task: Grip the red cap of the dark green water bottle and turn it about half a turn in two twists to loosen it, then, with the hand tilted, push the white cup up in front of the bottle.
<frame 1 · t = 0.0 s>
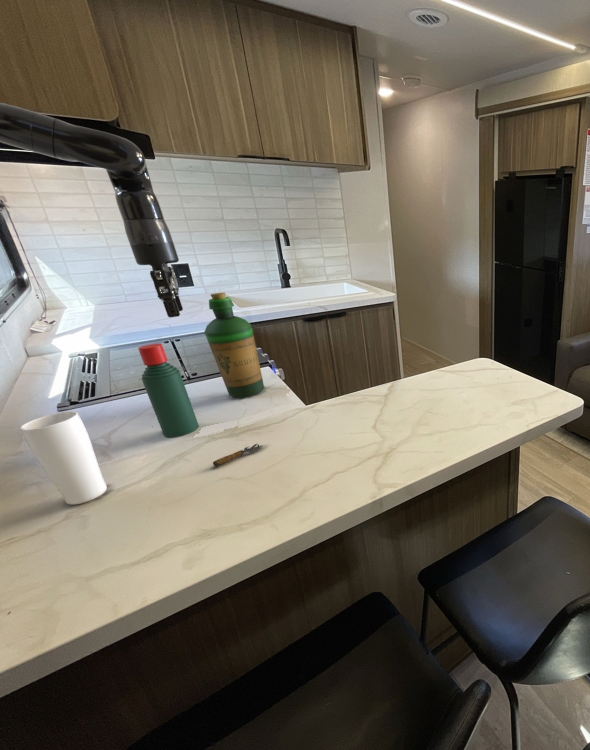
hand: (176, 313, 94), 25 cm above the countertop, tool pointing down, fingers open, 8 cm apart
white cup: (88, 497, 71), on the countertop
cap: (150, 347, 86), point 20 cm above the countertop, screwed on, not yet turned
bottle 2: (247, 393, 114), on the countertop
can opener: (239, 457, 80), on the countertop
bottle: (181, 430, 93), on the countertop
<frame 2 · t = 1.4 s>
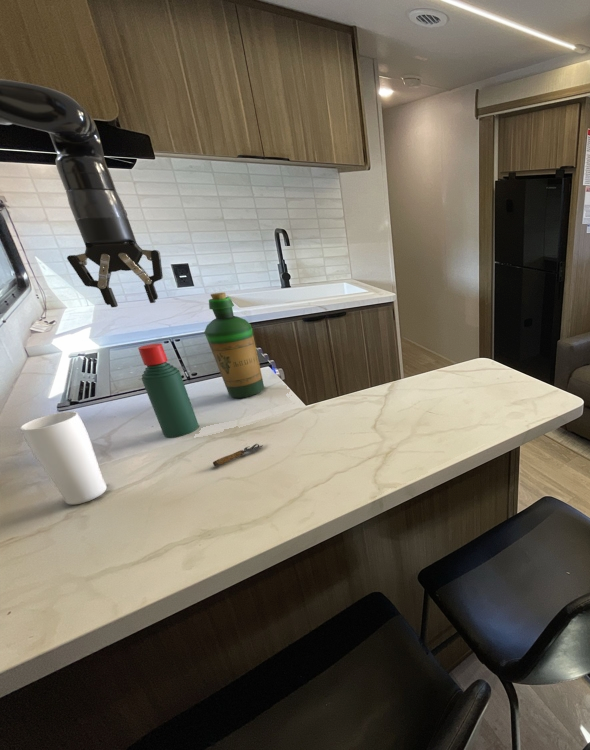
hand: (134, 304, 83), 29 cm above the countertop, tool pointing down, fingers open, 5 cm apart
nothing on the countertop moved.
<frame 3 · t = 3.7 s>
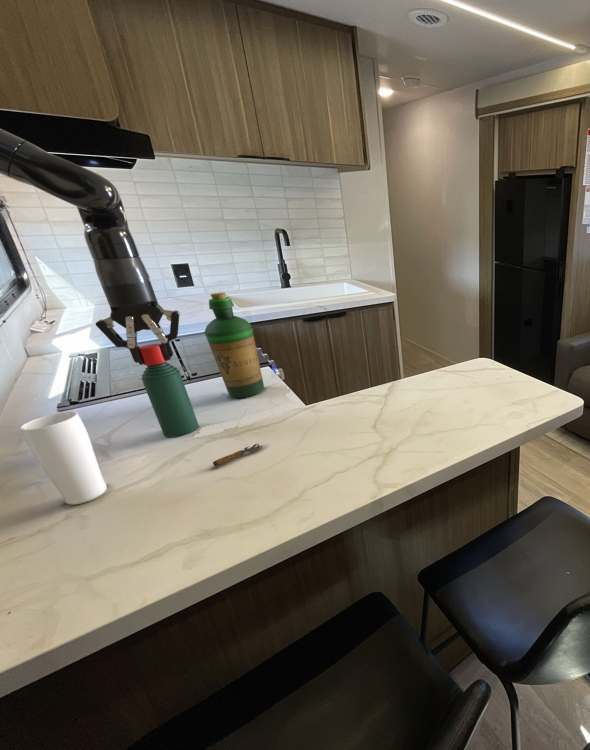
hand: (155, 361, 87), 17 cm above the countertop, tool pointing down, fingers closed on cap, 4 cm apart
cap: (150, 347, 86), point 20 cm above the countertop, screwed on, not yet turned, touching gripper
everything else where it was.
when the fingers open (16 cm above the countertop, at t = 6.1 s): cap stays where it is, point 20 cm above the countertop.
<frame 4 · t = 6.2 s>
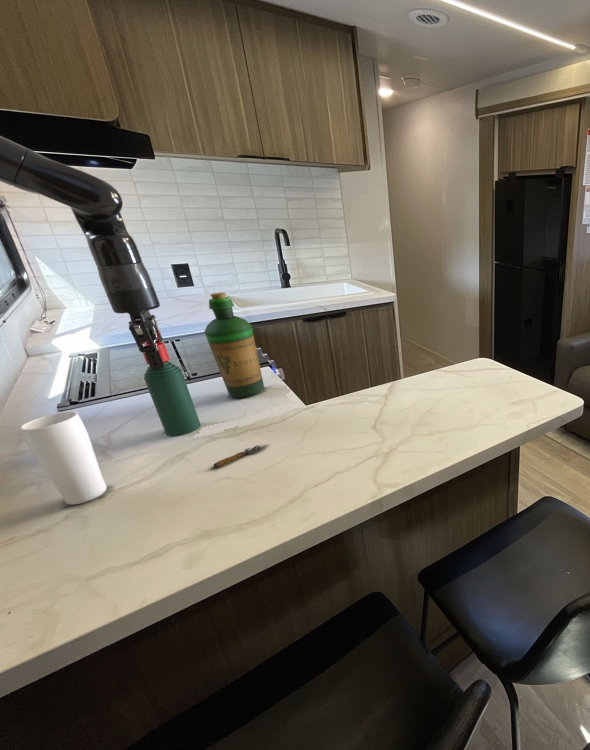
hand: (160, 365, 88), 16 cm above the countertop, tool pointing down
cap: (152, 346, 87), point 20 cm above the countertop, turned 85° so far, risen 0.1 cm, still on its thread, touching gripper
bottle: (183, 429, 94), on the countertop, touching gripper
everything else where it was.
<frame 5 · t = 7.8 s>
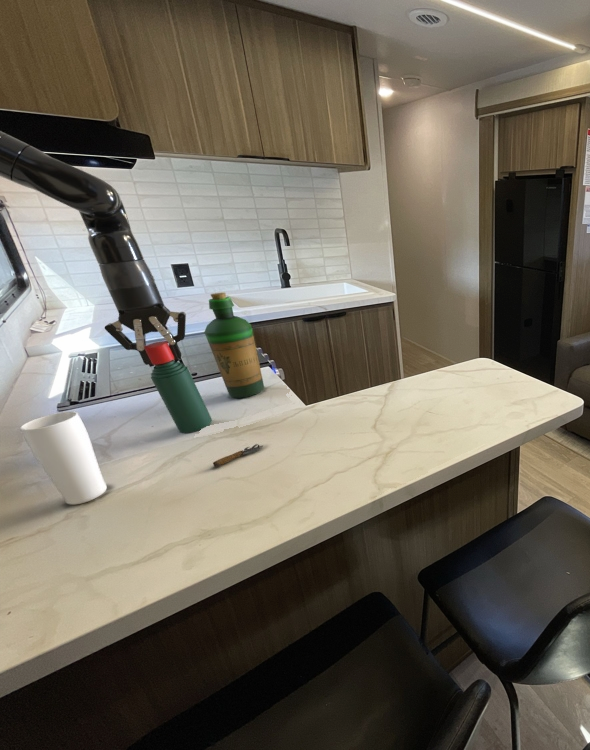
hand: (165, 362, 88), 16 cm above the countertop, tool pointing down, fingers closed on cap, 4 cm apart
cap: (156, 346, 86), point 20 cm above the countertop, tilted 6°, turned 79° so far, risen 0.1 cm, still on its thread, touching gripper
bottle: (195, 425, 95), on the countertop, tilted 6°, touching gripper
everything else where it was.
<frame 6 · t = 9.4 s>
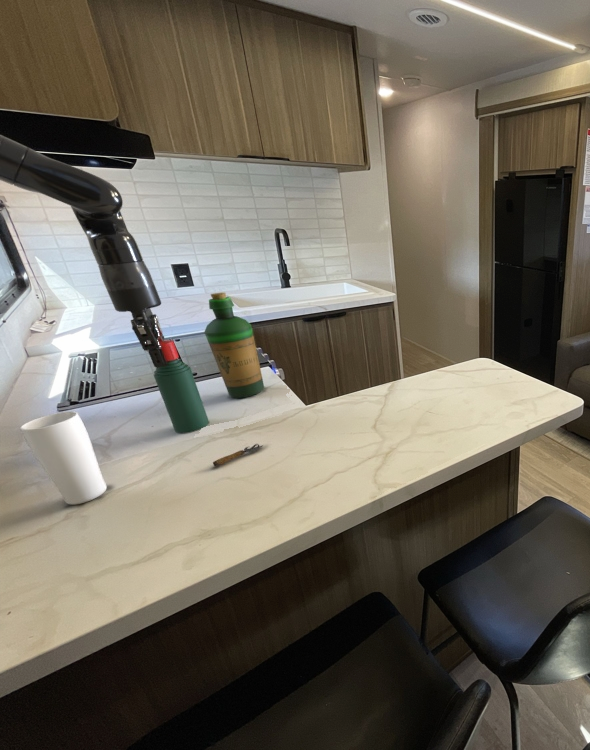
hand: (162, 363, 88), 16 cm above the countertop, tool pointing down, fingers closed on cap, 3 cm apart
cap: (162, 344, 88), point 20 cm above the countertop, turned 151° so far, risen 0.1 cm, still on its thread, touching gripper
bottle: (192, 426, 95), on the countertop, touching gripper
everything else where it was.
when the fingers open (16 cm above the countertop, at t = 9.6 s): cap stays where it is, point 20 cm above the countertop.
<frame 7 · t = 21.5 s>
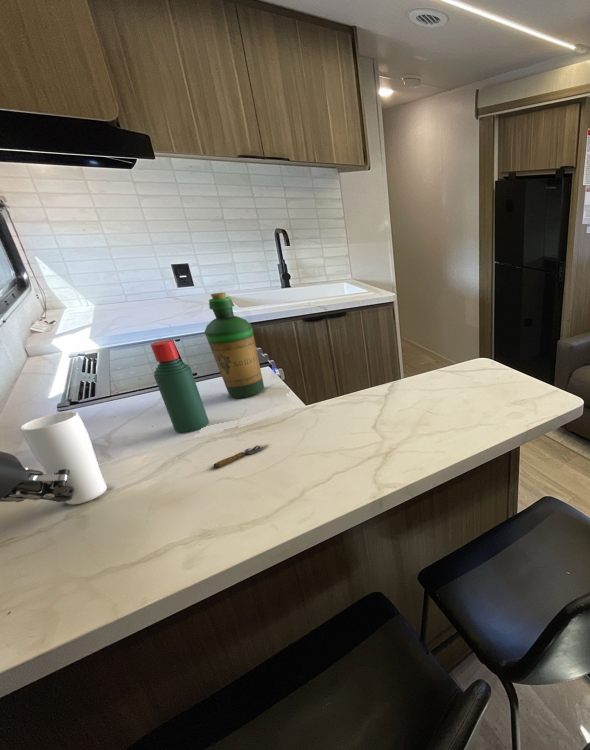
hand: (67, 494, 67), 3 cm above the countertop, tool tilted 45°, fingers closed
white cup: (88, 497, 71), on the countertop, touching gripper
cap: (162, 344, 88), point 20 cm above the countertop, turned 151° so far, risen 0.1 cm, still on its thread
bottle: (192, 426, 95), on the countertop
everything else where it was.
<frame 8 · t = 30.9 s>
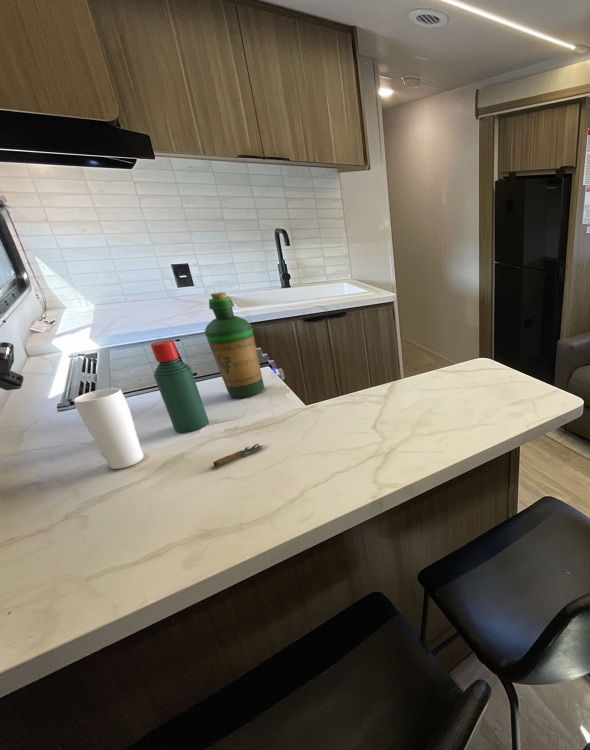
hand: (16, 384, 61), 22 cm above the countertop, tool tilted 45°, fingers closed
white cup: (128, 463, 81), on the countertop
everything else where it was.
at the end: cap turned 0.42 turns (still on its thread); cap is still on its thread (0.42 turns); white cup inside the target area on the countertop beside the bottle (1.2 cm from its centre), on the countertop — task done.
